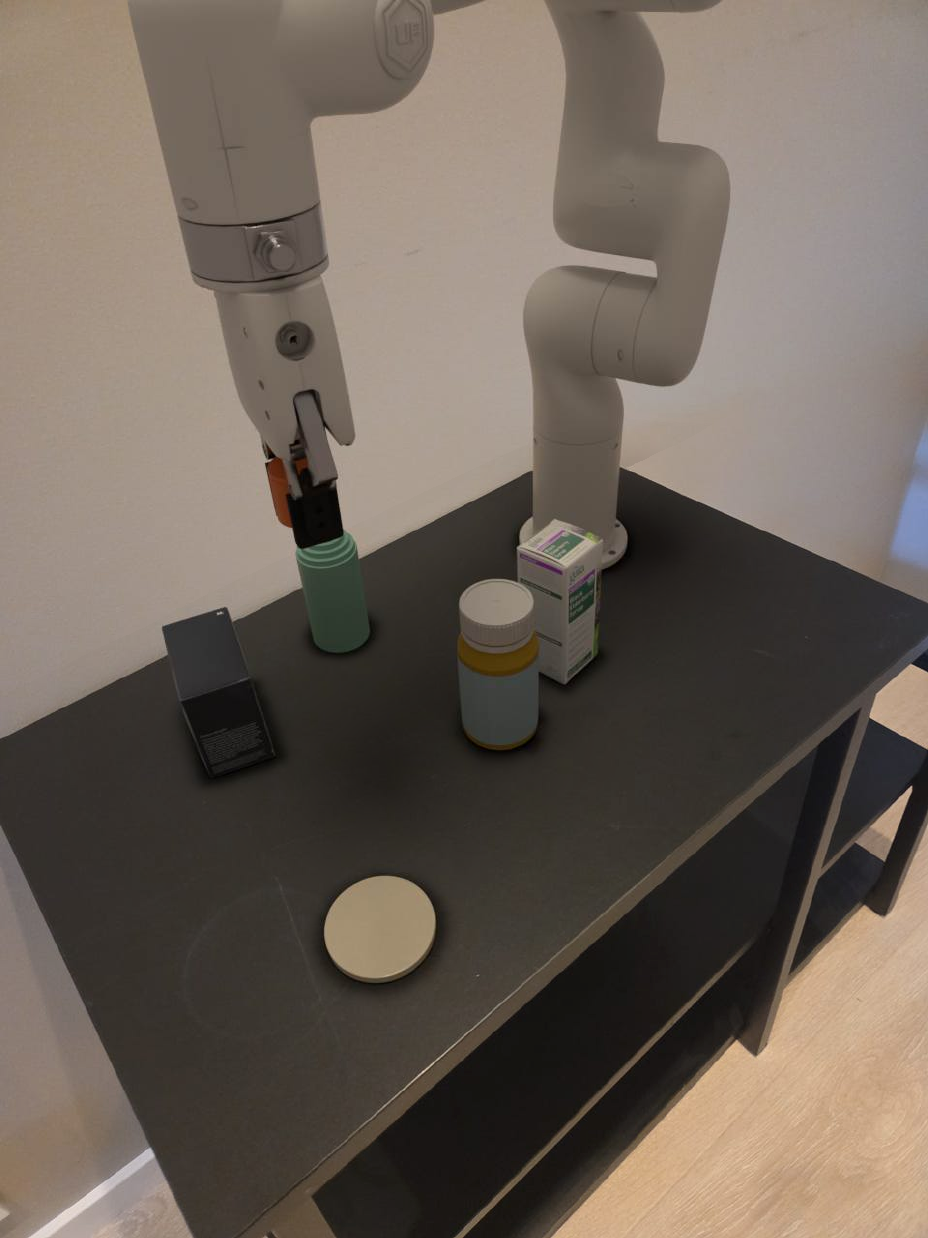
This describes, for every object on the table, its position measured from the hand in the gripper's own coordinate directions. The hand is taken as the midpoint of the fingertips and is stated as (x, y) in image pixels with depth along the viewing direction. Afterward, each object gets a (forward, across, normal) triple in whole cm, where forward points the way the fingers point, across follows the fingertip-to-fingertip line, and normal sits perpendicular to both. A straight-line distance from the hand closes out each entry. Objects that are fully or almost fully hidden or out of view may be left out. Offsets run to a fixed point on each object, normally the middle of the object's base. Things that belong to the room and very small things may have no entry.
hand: (308, 522), depth 59 cm
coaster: (+28, -14, +4) cm, 31 cm away
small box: (+28, +12, +8) cm, 31 cm away
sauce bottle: (+27, +20, -6) cm, 34 cm away
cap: (-1, 0, 0) cm, 1 cm away
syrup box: (+28, +5, -24) cm, 37 cm away
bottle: (+28, 0, -14) cm, 31 cm away
